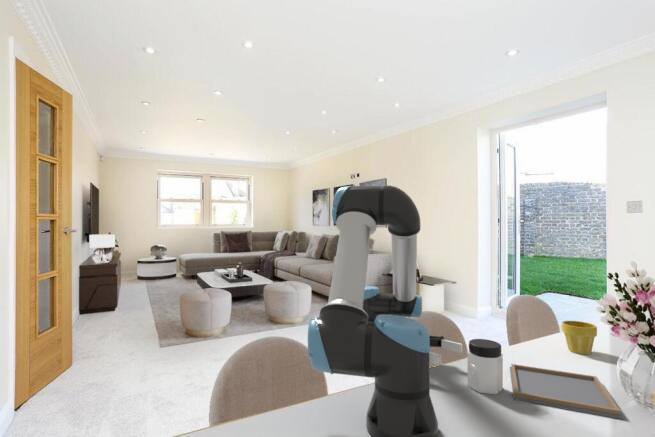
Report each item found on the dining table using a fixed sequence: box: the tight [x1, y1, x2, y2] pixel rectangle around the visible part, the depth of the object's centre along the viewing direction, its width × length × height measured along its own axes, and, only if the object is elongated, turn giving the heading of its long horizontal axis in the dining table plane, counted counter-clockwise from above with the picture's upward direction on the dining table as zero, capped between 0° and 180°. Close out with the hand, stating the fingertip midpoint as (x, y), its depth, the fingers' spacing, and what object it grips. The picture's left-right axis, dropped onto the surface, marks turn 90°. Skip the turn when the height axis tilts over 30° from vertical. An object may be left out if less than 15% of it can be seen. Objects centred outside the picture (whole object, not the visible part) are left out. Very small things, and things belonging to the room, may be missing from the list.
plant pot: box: [561, 320, 598, 355], centre depth 129 cm, size 10×10×10 cm
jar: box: [467, 338, 504, 395], centre depth 99 cm, size 9×8×12 cm
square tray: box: [509, 363, 624, 420], centre depth 98 cm, size 22×22×2 cm
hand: (451, 354), depth 106 cm, fingers open, 13 cm apart
